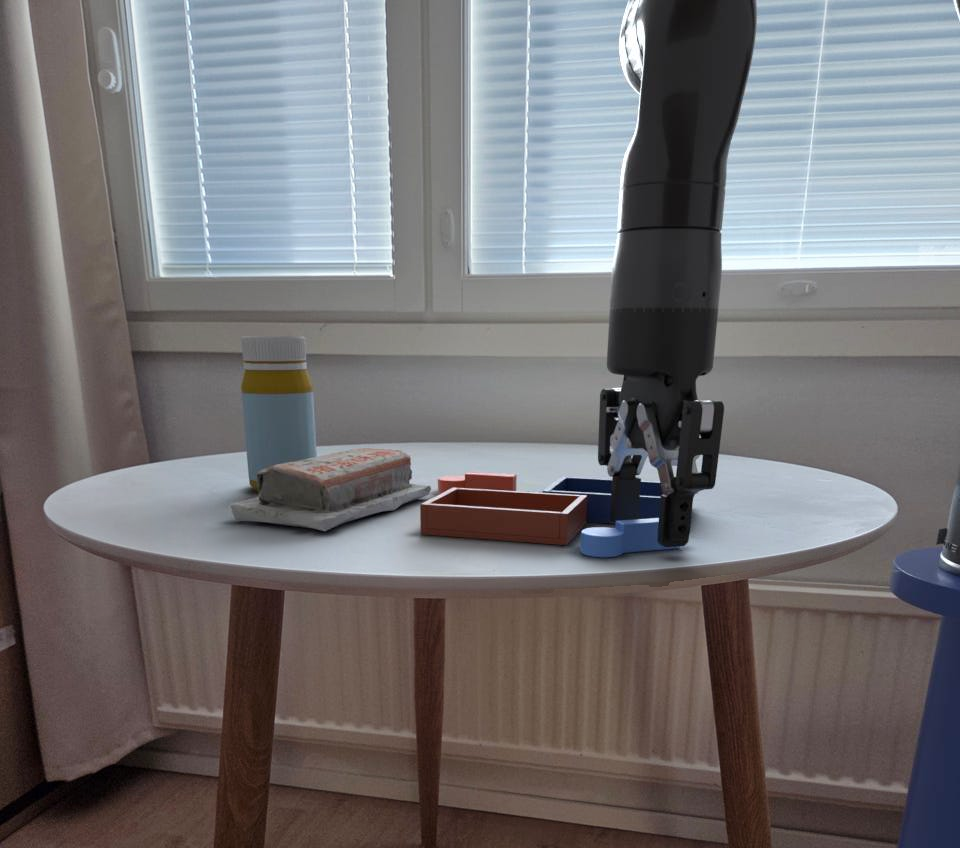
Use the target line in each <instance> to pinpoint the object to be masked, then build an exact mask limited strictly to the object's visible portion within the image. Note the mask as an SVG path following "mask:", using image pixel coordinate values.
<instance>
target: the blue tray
mask: <svg viewBox="0 0 960 848" xmlns="http://www.w3.org/2000/svg"><path fill="white" fill-rule="evenodd" d="M611 491H612V478H600V477H599V478H597V477H596V478H595V477H581V476H580V477H578V476H576V477H575V476H561V477H559V478H558V479H557V480H555V481H554V482H552V483H551V484H549V485H548V486H547V487H545V488H544V489H543V490H542V491H541V493H555V494H572V495H587V515H586V523H594V524H595V523H597V524H611V525H613V524H612V523H611V521H610V508H611ZM661 495H664V494H663V492H662V489H661V484H660V481H656V480H655V481H653V480H641V488H640V502H639V516H638V519H649V518H659V511H660V499H661Z"/></svg>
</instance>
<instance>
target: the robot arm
mask: <svg viewBox="0 0 960 848" xmlns="http://www.w3.org/2000/svg"><path fill="white" fill-rule="evenodd" d="M952 1H953V4H954V7H955V11H956V14H957V17H958V20H959V21H960V0H952ZM757 21H758V8H757V0H628V1H627V4H626V7H625V11H624V14H623V18H622V21H621V22H622V23H621V27H620V30H619V43H618V47H619V58H620V59H619V60H620V64H621V69H622V71H623V74H624V77H625V78H626V80H627V82H628V84H629V85H630V87H631V88H632V89H633V90H634V91H635V92H636V93H637V94H638V95H639V100H638V101H639V102H638V112H637V113H638V114H637V122H636V127H635V130H634V135H633V136H632V139H631V141H630V143H629V145H628V147H627V148H626V151H625V153H624V157H623V161H622V166H621V174H620V185H619V200H618V217H617V233H618V234H617V235H616V243H615V249H614V254H613V261H612V267H611V275H610V276H611V279H610V299H609V313H608V335H607V353H606V368H607V371H608V372H609V373H611V374H613V375H618V376H623V380H622V384H621V387H612V388H602V389H601V391H600V394H599V414H598V415H599V417H598V440H597V441H598V442H597V443H598V444H597V462H598V465H599V466H606V467H607V469H606V472H607V474H608V476H609V477H612V478H611V479H612V491H611V508H610V521H611V523H612V524H611V525H614V526H615V525H616V521H621V520H635V519H638V516H639V502H640V488H641V481H642V478H640V477H638V476H640V475H641V473H642V470H643V468H644V465H645V463H646V460H647V458H648V461H649V464H650V465H651V466H652V467H654V468H655V469H656V470H657V475H658V479H659V482H660V484H661V489H662V492H663V494H664V495H661V499H660V511H659V524H658V537H657V541H658V543H659V544H660V545H662V546H664V547H679V546H680V547H685V546H686V545H687V544H688V543H689V540H690V534H691V524H692V513H693V506H694V505H693V503H694V497H695V495H697V494H699V492H701V491H705V490H713V488H715V485H716V480H717V473H718V466H719V465H718V464H719V456H720V446H721V440H722V439H721V438H722V432H723V422H724V414H725V405H724V402H723V401H722V400H699V399H698V398H699V397H698V392H697V379H698V378H699V377H703V376H706V375H709V374H710V373H711V372H712V370H713V367H714V360H715V350H716V349H715V348H716V337H717V328H718V318H719V317H718V316H719V308H720V307H719V305H720V293H721V286H722V285H721V284H722V274H723V273H722V272H723V256H722V255H723V254H722V253H723V252H722V235H723V234H722V230H723V221H724V220H723V218H724V211H725V199H726V188H727V175H728V174H727V172H728V171H727V170H728V169H727V167H728V160H729V159H728V158H729V153H730V149H731V145H732V141H733V139H734V135H735V132H736V128H737V125H738V122H739V117H740V113H741V108H742V104H743V101H744V97H745V91H746V87H747V84H748V79H749V75H750V70H751V66H752V61H753V57H754V56H753V55H754V50H755V45H756V44H755V43H756V37H757V25H758V23H757ZM611 448H612V449H611ZM700 456H702V460H701V469H700V471H698V466H697V460H698V459H699V457H700ZM673 467H676V471H675V474H674V469H673ZM949 509H950V510H949V515H948V521H947V527H944V528H938V533H937V539H936V543H935V545H942V547H943V551H942V552H941V555H940V560H939V566H940V567H941V568H942V569H944V570H945V571H947V572H949V573H952V574H954V575H957V576H960V462H959V463H958V468H957V474H956V478H955V484H954V490H953V494H952V500H951V505H950V508H949Z"/></svg>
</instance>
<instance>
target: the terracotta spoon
mask: <svg viewBox="0 0 960 848" xmlns="http://www.w3.org/2000/svg"><path fill="white" fill-rule="evenodd" d="M451 488H470V489H487V490H504V491H517V474H515V473H496V472H479V471H468V472H466V473H464V475H444V476H440V477H438V478H437V495H439V494H441V493H443V492H445V491H447V490H449V489H451Z"/></svg>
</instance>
